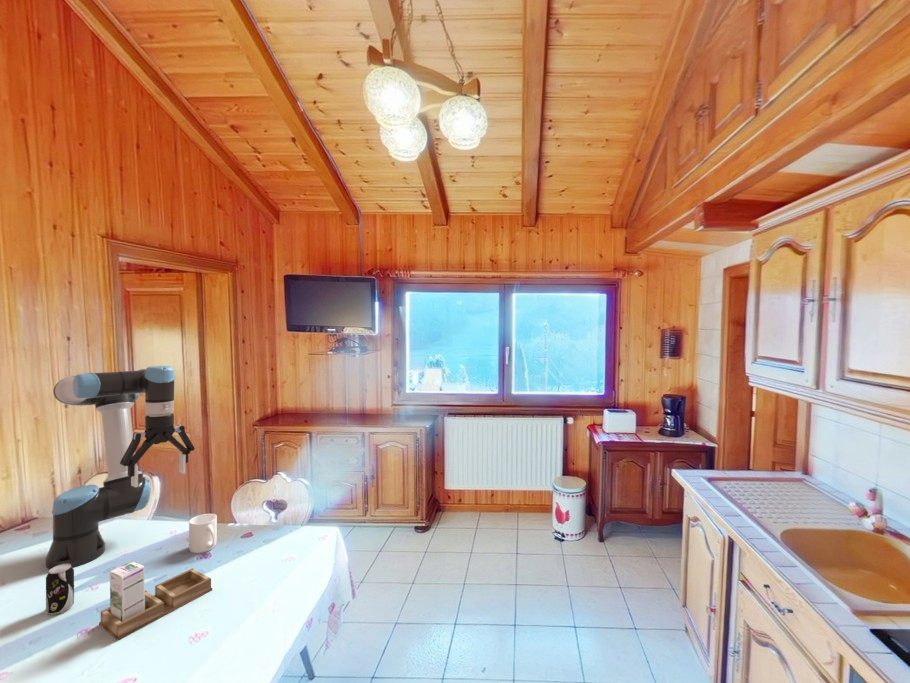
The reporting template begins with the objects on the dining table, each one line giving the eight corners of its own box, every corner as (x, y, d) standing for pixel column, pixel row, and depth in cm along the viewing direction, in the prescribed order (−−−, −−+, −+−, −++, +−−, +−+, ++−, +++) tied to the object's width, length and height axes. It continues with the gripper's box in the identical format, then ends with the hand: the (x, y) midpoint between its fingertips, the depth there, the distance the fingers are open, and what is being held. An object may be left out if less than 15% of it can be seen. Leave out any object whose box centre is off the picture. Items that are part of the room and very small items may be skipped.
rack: (99, 624, 110) (99, 611, 110) (192, 578, 131) (192, 567, 131) (117, 640, 105) (117, 626, 104) (212, 589, 125) (212, 578, 125)
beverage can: (41, 618, 112) (41, 575, 111) (52, 605, 117) (52, 564, 117) (68, 613, 114) (68, 571, 114) (77, 600, 119) (77, 560, 119)
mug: (200, 559, 142) (200, 529, 141) (184, 549, 148) (184, 520, 148) (225, 549, 149) (226, 520, 148) (209, 539, 155) (209, 511, 155)
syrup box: (146, 616, 113) (146, 564, 112) (121, 630, 107) (121, 576, 107) (133, 610, 115) (133, 559, 114) (108, 624, 109) (108, 570, 109)
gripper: (117, 422, 118) (117, 495, 119) (206, 409, 140) (205, 470, 141) (106, 419, 122) (106, 489, 123) (194, 406, 144) (193, 466, 144)
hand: (159, 479), depth 132 cm, fingers open, 13 cm apart
